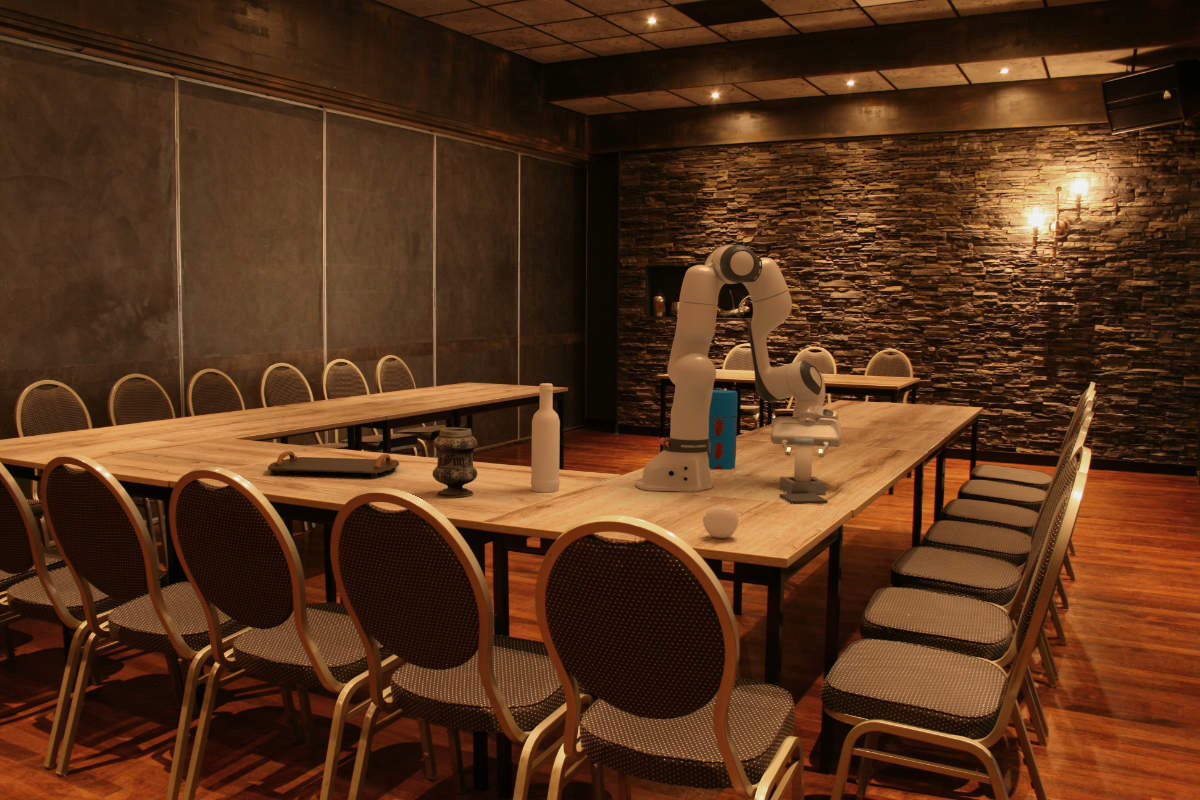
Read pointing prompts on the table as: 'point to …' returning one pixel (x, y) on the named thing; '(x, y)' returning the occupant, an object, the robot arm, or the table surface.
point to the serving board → (333, 464)
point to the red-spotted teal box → (723, 429)
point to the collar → (803, 486)
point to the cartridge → (803, 459)
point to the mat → (803, 498)
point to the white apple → (721, 521)
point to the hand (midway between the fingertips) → (804, 455)
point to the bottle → (545, 444)
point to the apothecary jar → (455, 461)
